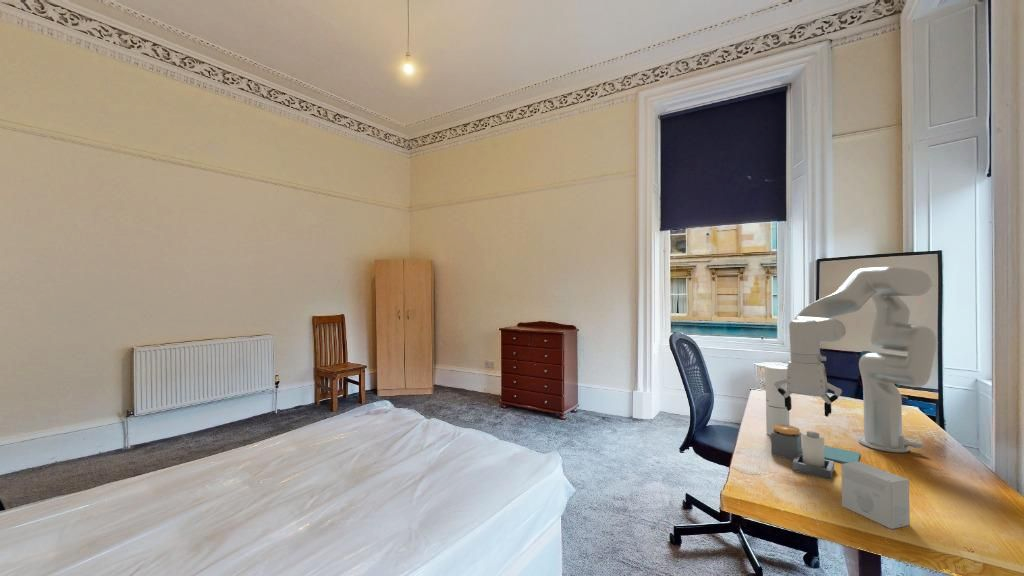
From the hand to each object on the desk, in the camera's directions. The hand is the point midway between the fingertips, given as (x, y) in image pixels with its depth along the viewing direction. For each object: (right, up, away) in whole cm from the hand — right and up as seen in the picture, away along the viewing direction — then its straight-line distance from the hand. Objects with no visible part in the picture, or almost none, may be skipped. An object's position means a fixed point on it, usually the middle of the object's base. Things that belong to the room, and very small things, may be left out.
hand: (807, 412), depth 124 cm
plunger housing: (-4, -15, +3) cm, 16 cm away
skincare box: (-8, -15, -31) cm, 35 cm away
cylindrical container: (+5, -15, +21) cm, 26 cm away
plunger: (-4, -11, +3) cm, 12 cm away
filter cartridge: (-4, -15, -8) cm, 17 cm away
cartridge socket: (-4, -15, -8) cm, 17 cm away
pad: (+10, -15, +3) cm, 18 cm away
